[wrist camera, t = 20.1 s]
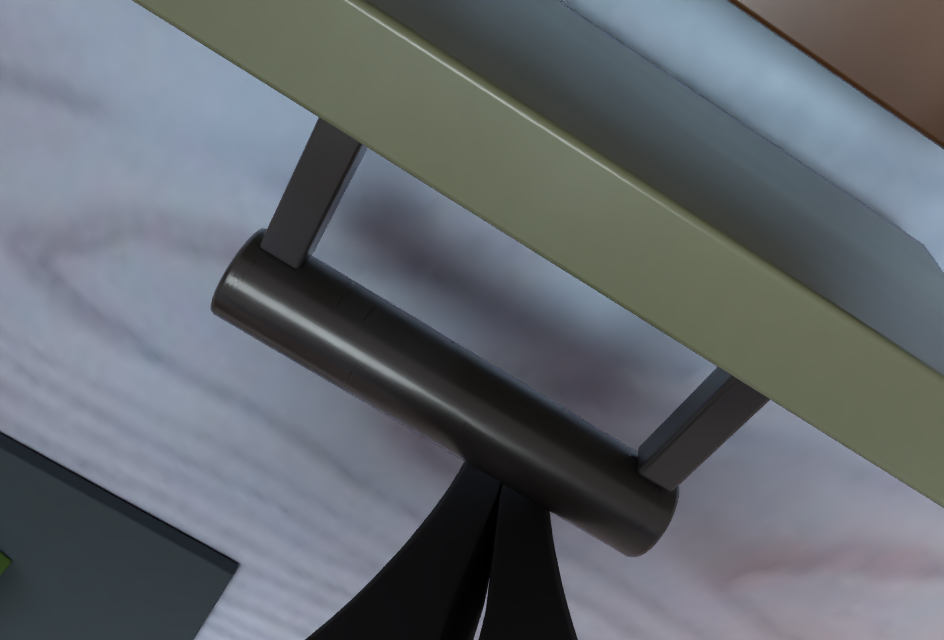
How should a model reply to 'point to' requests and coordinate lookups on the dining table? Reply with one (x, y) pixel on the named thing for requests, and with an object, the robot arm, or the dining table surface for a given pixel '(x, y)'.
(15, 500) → the mat
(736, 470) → the dining table surface
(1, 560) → the green stepped block
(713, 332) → the drawer
